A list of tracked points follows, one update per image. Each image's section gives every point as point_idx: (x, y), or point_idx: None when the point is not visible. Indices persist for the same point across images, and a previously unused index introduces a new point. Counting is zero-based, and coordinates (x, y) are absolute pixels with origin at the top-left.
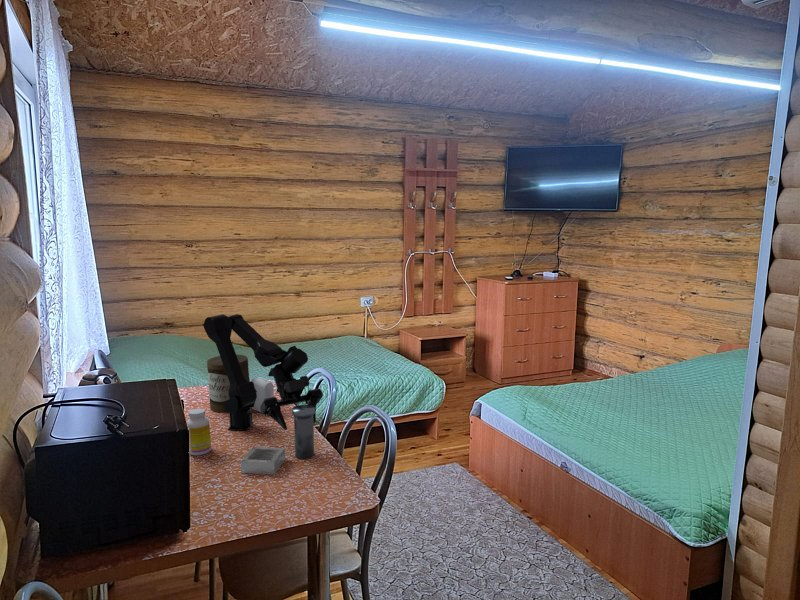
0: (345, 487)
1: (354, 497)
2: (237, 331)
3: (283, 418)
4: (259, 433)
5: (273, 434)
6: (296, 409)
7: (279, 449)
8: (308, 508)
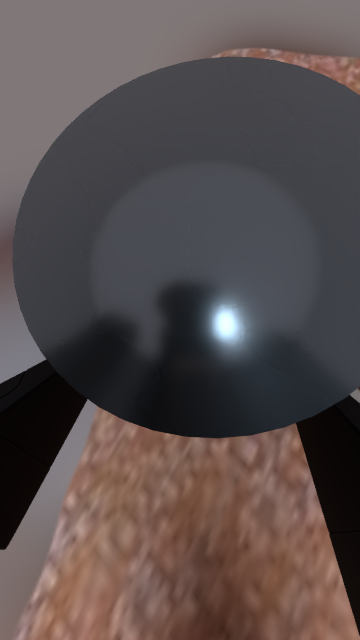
0: None
1: None
2: None
3: (352, 421)
4: (230, 634)
5: (191, 570)
6: (341, 234)
7: None
8: None
